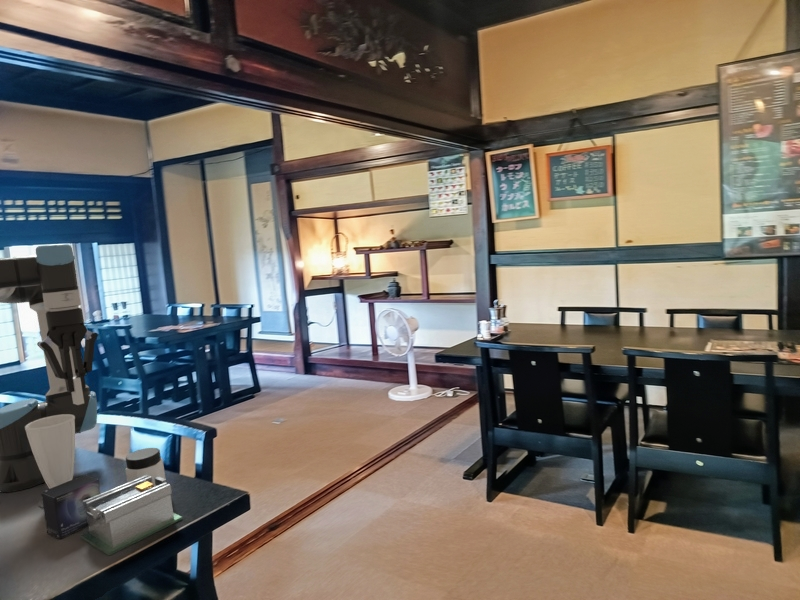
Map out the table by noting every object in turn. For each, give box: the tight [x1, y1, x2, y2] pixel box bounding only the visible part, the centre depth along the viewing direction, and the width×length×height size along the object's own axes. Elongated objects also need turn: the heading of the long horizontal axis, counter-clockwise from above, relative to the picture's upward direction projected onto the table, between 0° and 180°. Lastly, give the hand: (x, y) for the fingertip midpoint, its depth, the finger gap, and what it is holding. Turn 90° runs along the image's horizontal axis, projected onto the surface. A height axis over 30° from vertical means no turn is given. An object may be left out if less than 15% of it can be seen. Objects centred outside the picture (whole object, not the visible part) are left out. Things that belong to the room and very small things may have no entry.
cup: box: [25, 414, 76, 509], centre depth 145 cm, size 12×12×22 cm
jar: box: [124, 447, 166, 487], centre depth 141 cm, size 9×8×12 cm
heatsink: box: [80, 475, 183, 556], centre depth 126 cm, size 14×17×9 cm
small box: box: [40, 474, 101, 540], centre depth 129 cm, size 11×6×10 cm, turn 148°
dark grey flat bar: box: [86, 481, 154, 520], centre depth 124 cm, size 14×4×2 cm, turn 142°
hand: (78, 403), depth 133 cm, fingers closed
